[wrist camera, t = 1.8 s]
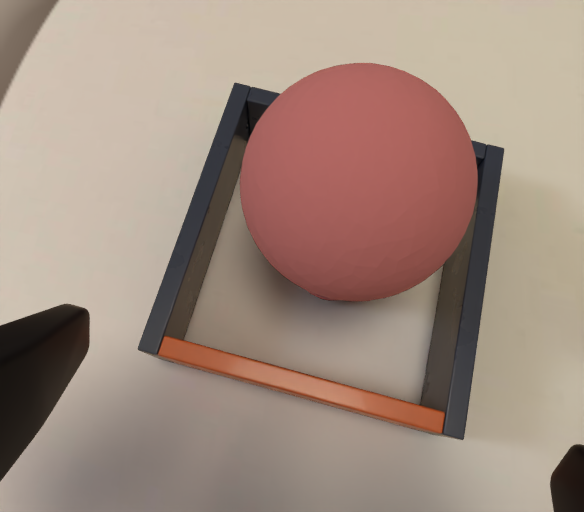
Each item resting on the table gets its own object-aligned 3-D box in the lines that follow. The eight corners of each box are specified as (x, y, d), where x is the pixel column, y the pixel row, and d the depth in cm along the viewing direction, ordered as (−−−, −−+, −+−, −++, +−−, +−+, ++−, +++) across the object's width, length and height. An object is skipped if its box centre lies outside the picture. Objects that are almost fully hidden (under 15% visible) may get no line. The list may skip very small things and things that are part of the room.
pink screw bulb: (245, 206, 23) (215, 16, 12) (384, 190, 24) (482, -8, 12) (263, 348, 21) (246, 282, 10) (414, 327, 22) (567, 240, 10)
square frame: (433, 434, 20) (464, 440, 17) (158, 358, 21) (136, 349, 18) (473, 183, 24) (505, 147, 21) (240, 125, 25) (234, 81, 21)
